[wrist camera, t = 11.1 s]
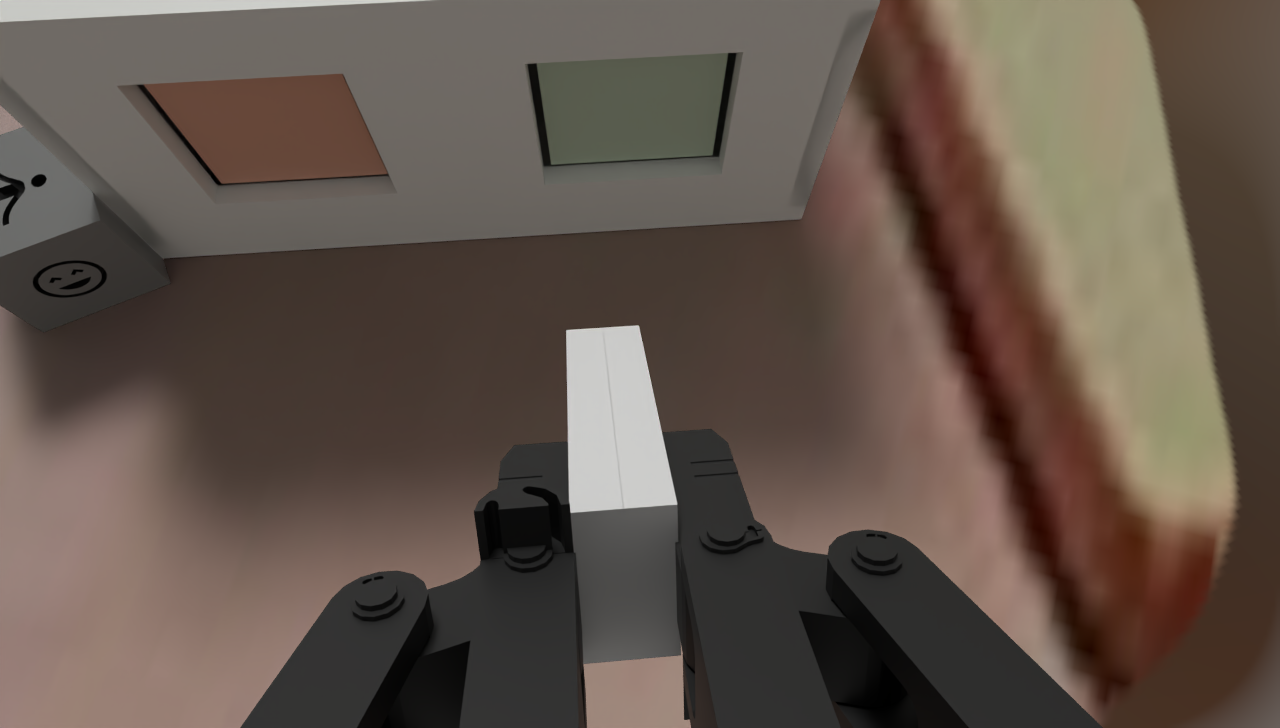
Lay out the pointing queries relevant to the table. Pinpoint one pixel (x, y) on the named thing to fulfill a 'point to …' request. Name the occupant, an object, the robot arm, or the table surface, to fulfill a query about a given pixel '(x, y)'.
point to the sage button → (632, 107)
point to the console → (426, 113)
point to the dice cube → (63, 241)
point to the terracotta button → (273, 127)
